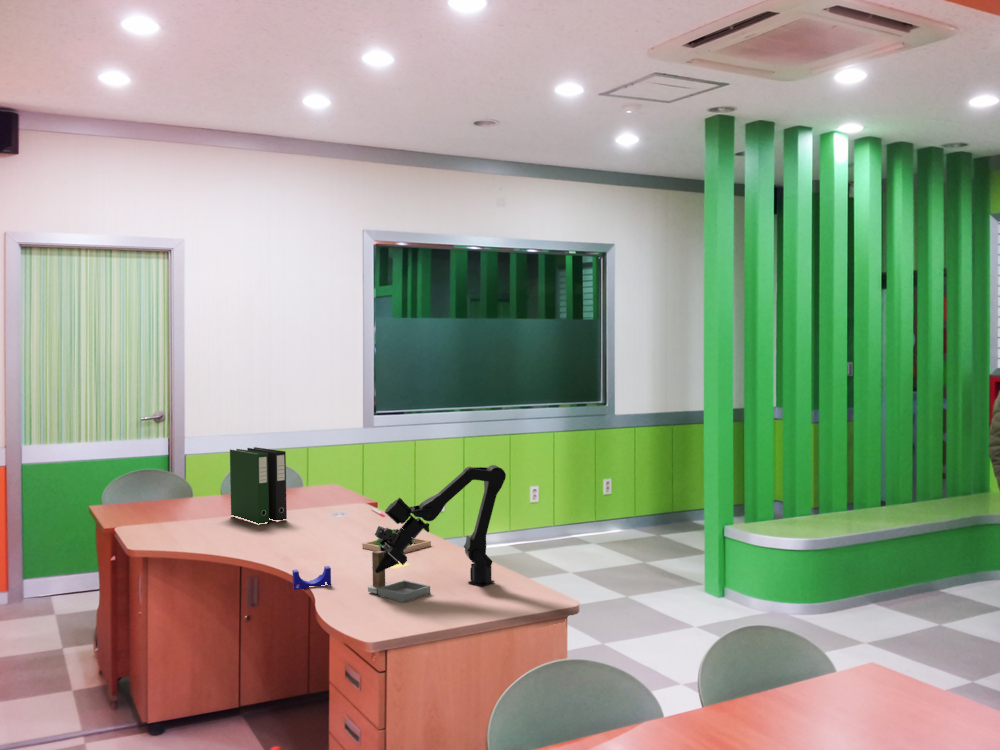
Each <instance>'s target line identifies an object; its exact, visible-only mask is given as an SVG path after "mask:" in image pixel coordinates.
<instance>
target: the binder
mask: <svg viewBox="0 0 1000 750" xmlns="http://www.w3.org/2000/svg"><path fill="white" fill-rule="evenodd" d="M286 455H287V454H286V451H283V450H277V449H270V448H262V447H256V446H254V447H252V448H251V447H247V448H246V449H242V448H241V449H240V448H236V449H231V448H230V449H229V471H230V472H229V474H230V475H229V477H230V516H231V515H234V516H238V517H241V518H244V519H247V520H250V521H253V522H256V523H258V524H259V523H265V522H269V523H270V521H269V518H270V519H273V520H283V519H288V518H287V515H288V514H287V471H286V470H287V465H286V464H287V463H286V462H287V461H286V459H287V458H286Z"/></svg>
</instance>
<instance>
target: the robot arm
mask: <svg viewBox="0 0 1000 750" xmlns="http://www.w3.org/2000/svg"><path fill="white" fill-rule="evenodd" d="M506 476H507V474H506V472H505V470H504V469H503V468H501V467H500V466H498V465H496V464H495V465H494V464H492V465H489V466H488V467H485V466H484V467H483V466H480V467H479V466H477V467H473V466H467V467H465V468H464V469H463V470H462V472H460V473H459V475H457V476H456V477H455V478H454V479H453V480H451V482H449V483H448V484H447V485H446V486H445V487H443V488H442V489H441V490H440V491H439V492H438V493H436V494H435V495H433V496H430V497H428V498H427V499H425V500H423V501H422V502H421V503H420V504H418V505H413V506H409V505H408V504H407V503H406V502H405V501H403V499H402V498H401V497H398V498H397V499H396V500H394V501H392V503H390V504H389V505H388V506H387V508H386V509H384V510H385V511H384V513H385V514H386V515H387V517H389V518H390V519H391V520H392V521H393V522H394V523H395V524H397V525H399V524H401V525H402V524H403V525H402V526H400V528H397V529H396V530H395V531H394V532H393V531H392V530H393V529H392V528H389V527H386V528H385V527H383V526H380V525H378V526H377V528H376V531H375V533H374V536H376V538H377V539H378V538H380V539H379V541H378V542H379V543H380V544H382V546H381V545H379V547H380V551H384V557H383V559H382V560H381V562H380V563H379V565H378V566H377V568H376V569H375V572H376V573H379V572H381V571H383V570H385V571H386V570H387V569H389V568H391V567H394V566H396V565H400V564H401V565H402V566H404V565H405V563H406V562H407V561H408V556H407V555H406V553H405V552H403V551H404V550H405V549H406V548H407V547H408V546H409V544H410V545H414V544H413V542H412V541H413V540H414V539H415V538H417V537H418V535H419V534H420V533H421V532H422V531H423V530H425V532H426V533H429V532H430V523H429V522H433V521H434V520H436V519H437V517H438V516H439V515H440V514H441V512H442V511H443V509H444V508H445V506H446V504H447V503H448V502H450V501H451V500H452V499H453V498H454V497H455V496H456V495H458V494H459V493H460V492H461V491H462V490H463V489H464V488H465V487H467V486H468V485H469V484H470V483H471V482H472V481H479V482H480V481H482V482H483V487H484V488H483V490H484V491H483V495H482V499H481V503H480V506H479V507H480V508H479V510H478V514H477V519H476V522H475V526H474V529H473V532H472V534H471V535H470V536H469V535H466V537H465V538H466V539H465V544H464V545H463V548H464V553H465V555H466V556H467V558H468V559H469V560H470V561H471V563H470V569H469V570H470V572H469V573H470V575H469V576H470V577H469V578H470V579H469V581H467V584H469V583H470V585H474V584H476V585H475V586H478V585H481V586H480V587H485V586H488V585H490V584H489V583H491V584H493V583H492V582H494V583H495V580H494V579H492V565H493V560H492V559H491V557H489V556H488V554H487V533H488V530H489V525H490V522H491V519H492V513H493V511H494V506H495V504H496V500H497V499H496V498H497V495H498V493H499V492H500V490H501V489H502V487H503V485H504V483H505V481H506V479H507V478H506ZM421 518H422V519H423V520H422V519H421ZM424 521H426V522H424ZM413 538H414V539H413ZM371 568H372V569H373V566H372V567H371ZM487 584H488V585H487ZM484 585H485V586H484Z"/></svg>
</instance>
